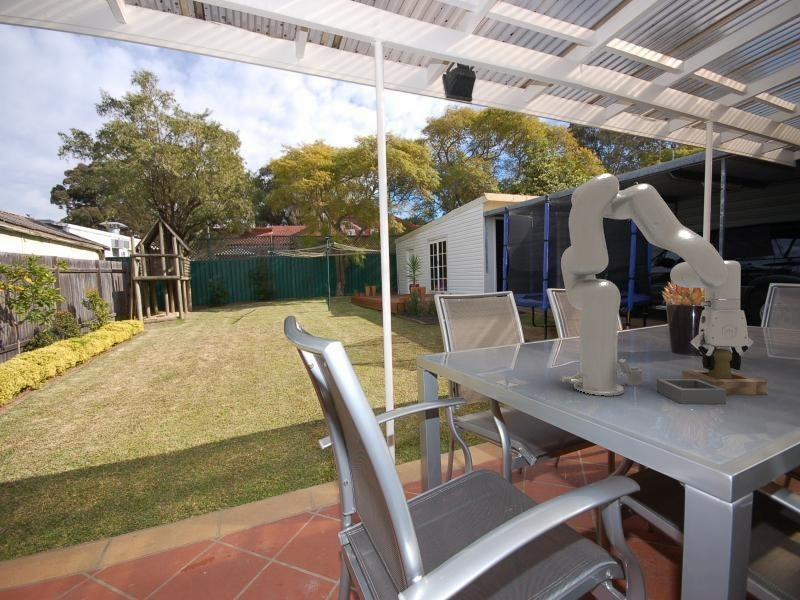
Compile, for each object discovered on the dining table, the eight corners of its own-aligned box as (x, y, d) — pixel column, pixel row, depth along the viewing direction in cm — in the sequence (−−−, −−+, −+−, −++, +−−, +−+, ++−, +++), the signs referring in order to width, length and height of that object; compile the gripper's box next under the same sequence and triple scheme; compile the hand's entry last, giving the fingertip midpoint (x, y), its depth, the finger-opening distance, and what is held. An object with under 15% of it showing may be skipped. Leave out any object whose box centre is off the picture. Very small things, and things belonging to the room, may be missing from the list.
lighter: (637, 383, 113) (637, 356, 113) (642, 384, 112) (642, 358, 111) (617, 385, 112) (617, 358, 111) (622, 387, 110) (622, 359, 110)
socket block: (713, 394, 100) (713, 381, 100) (682, 381, 113) (682, 370, 113) (766, 394, 99) (767, 381, 99) (728, 381, 112) (729, 370, 112)
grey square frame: (681, 403, 94) (681, 389, 94) (657, 391, 104) (656, 379, 104) (726, 403, 93) (726, 389, 93) (697, 391, 103) (697, 379, 103)
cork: (739, 391, 103) (739, 351, 102) (712, 390, 104) (713, 350, 104) (726, 385, 108) (726, 347, 108) (701, 384, 110) (701, 347, 109)
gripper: (698, 306, 102) (697, 372, 103) (767, 305, 101) (766, 372, 101) (680, 305, 110) (679, 366, 111) (744, 303, 108) (744, 366, 109)
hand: (721, 368), depth 106 cm, fingers open, 6 cm apart
